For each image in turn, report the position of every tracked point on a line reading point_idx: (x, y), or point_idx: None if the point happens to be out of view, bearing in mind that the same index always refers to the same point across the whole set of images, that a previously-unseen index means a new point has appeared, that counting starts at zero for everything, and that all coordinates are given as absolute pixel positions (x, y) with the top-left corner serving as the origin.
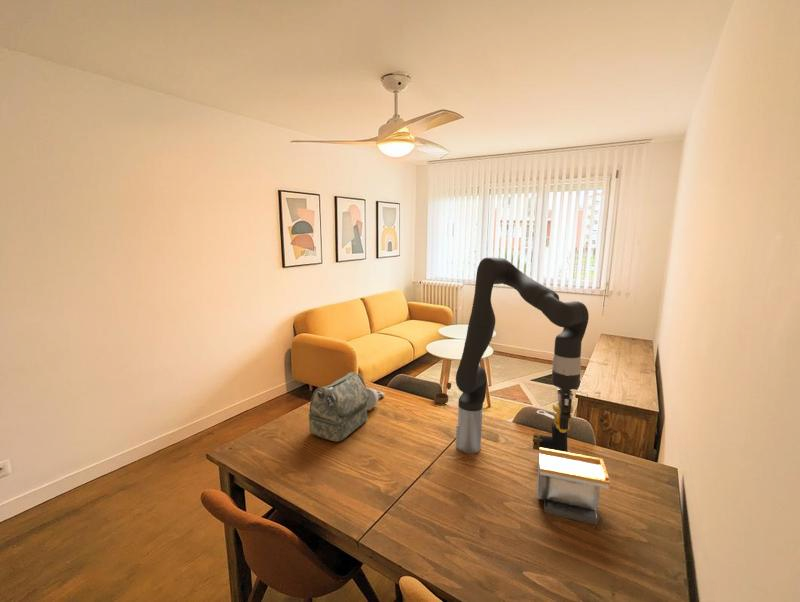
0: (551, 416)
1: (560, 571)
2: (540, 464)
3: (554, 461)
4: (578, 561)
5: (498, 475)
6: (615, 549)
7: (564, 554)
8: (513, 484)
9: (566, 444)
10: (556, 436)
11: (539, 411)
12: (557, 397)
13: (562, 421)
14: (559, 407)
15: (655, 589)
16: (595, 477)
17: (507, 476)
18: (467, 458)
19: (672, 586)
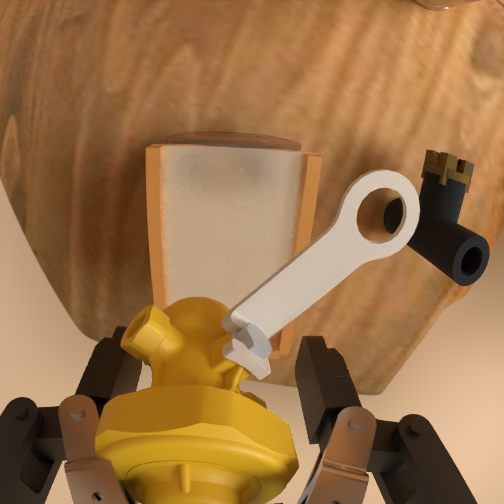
0: (284, 297)
1: (34, 177)
2: (201, 148)
3: (243, 206)
4: (66, 209)
5: (313, 32)
6: (124, 278)
7: (70, 185)
8: (281, 70)
9: (423, 256)
10: (439, 236)
11: (401, 199)
12: (352, 490)
13: (82, 379)
14: (67, 465)
15: (73, 310)
16: None
17: (316, 57)
18: None
19: (91, 331)
